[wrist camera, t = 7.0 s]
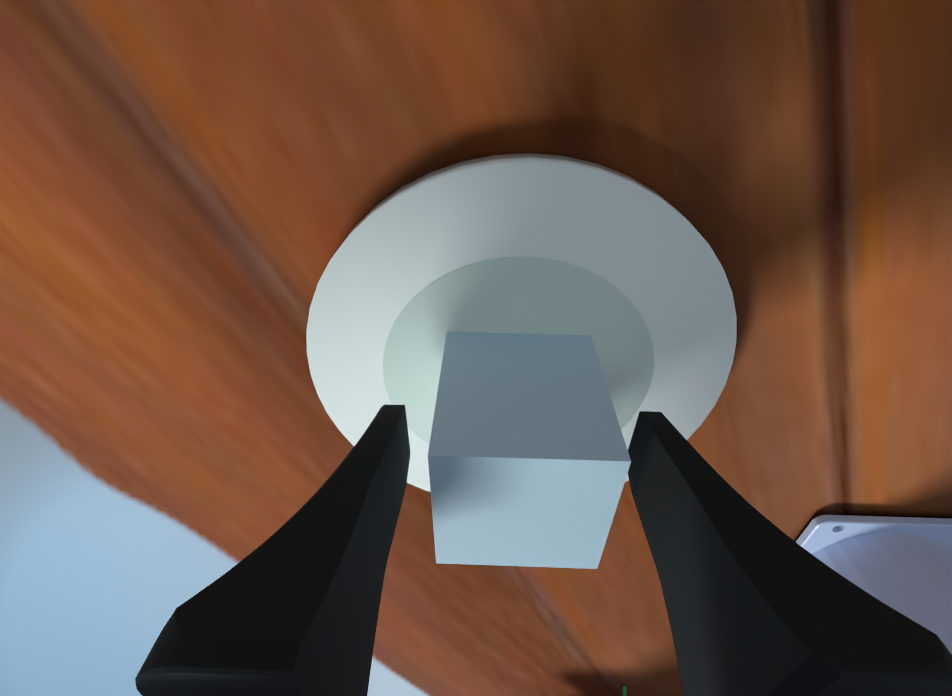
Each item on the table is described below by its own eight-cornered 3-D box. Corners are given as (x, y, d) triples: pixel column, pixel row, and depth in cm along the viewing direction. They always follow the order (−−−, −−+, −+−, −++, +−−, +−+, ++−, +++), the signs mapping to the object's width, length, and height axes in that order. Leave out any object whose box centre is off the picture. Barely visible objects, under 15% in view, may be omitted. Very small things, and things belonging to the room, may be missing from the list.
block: (590, 335, 14) (631, 461, 10) (571, 435, 17) (597, 568, 12) (446, 331, 14) (427, 455, 10) (450, 432, 17) (436, 563, 13)
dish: (797, 156, 12) (821, 166, 11) (663, 491, 20) (671, 512, 19) (269, 149, 12) (252, 158, 11) (350, 481, 20) (344, 501, 19)
